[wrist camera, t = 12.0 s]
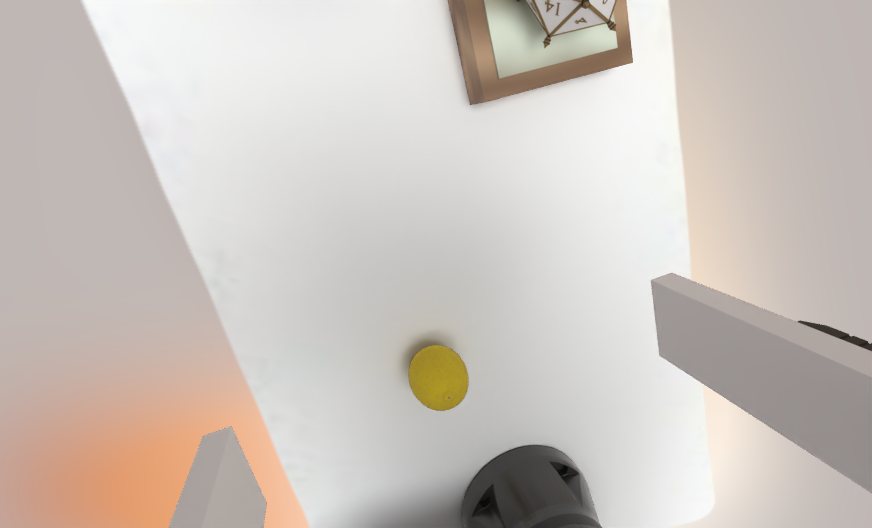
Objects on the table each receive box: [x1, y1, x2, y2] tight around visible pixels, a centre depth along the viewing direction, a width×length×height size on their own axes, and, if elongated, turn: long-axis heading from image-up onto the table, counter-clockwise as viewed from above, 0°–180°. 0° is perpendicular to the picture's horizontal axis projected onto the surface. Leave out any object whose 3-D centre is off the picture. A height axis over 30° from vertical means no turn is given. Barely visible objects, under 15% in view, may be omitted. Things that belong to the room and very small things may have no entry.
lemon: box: [408, 345, 468, 411], centre depth 46 cm, size 6×6×8 cm
